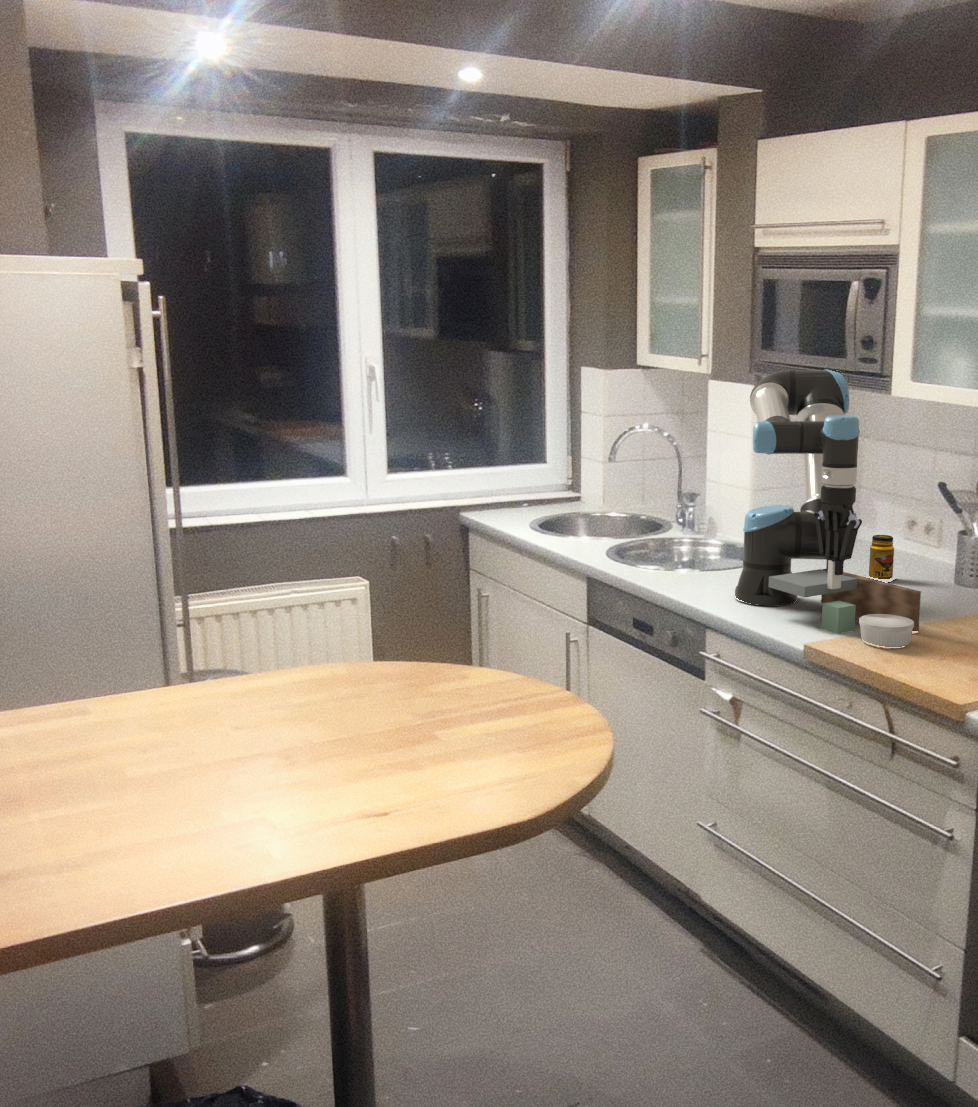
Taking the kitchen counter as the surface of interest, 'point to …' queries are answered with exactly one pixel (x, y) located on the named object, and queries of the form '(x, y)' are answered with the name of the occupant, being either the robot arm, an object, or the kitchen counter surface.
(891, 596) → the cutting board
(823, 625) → the block
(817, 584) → the lid
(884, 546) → the condiment
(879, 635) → the ramekin
